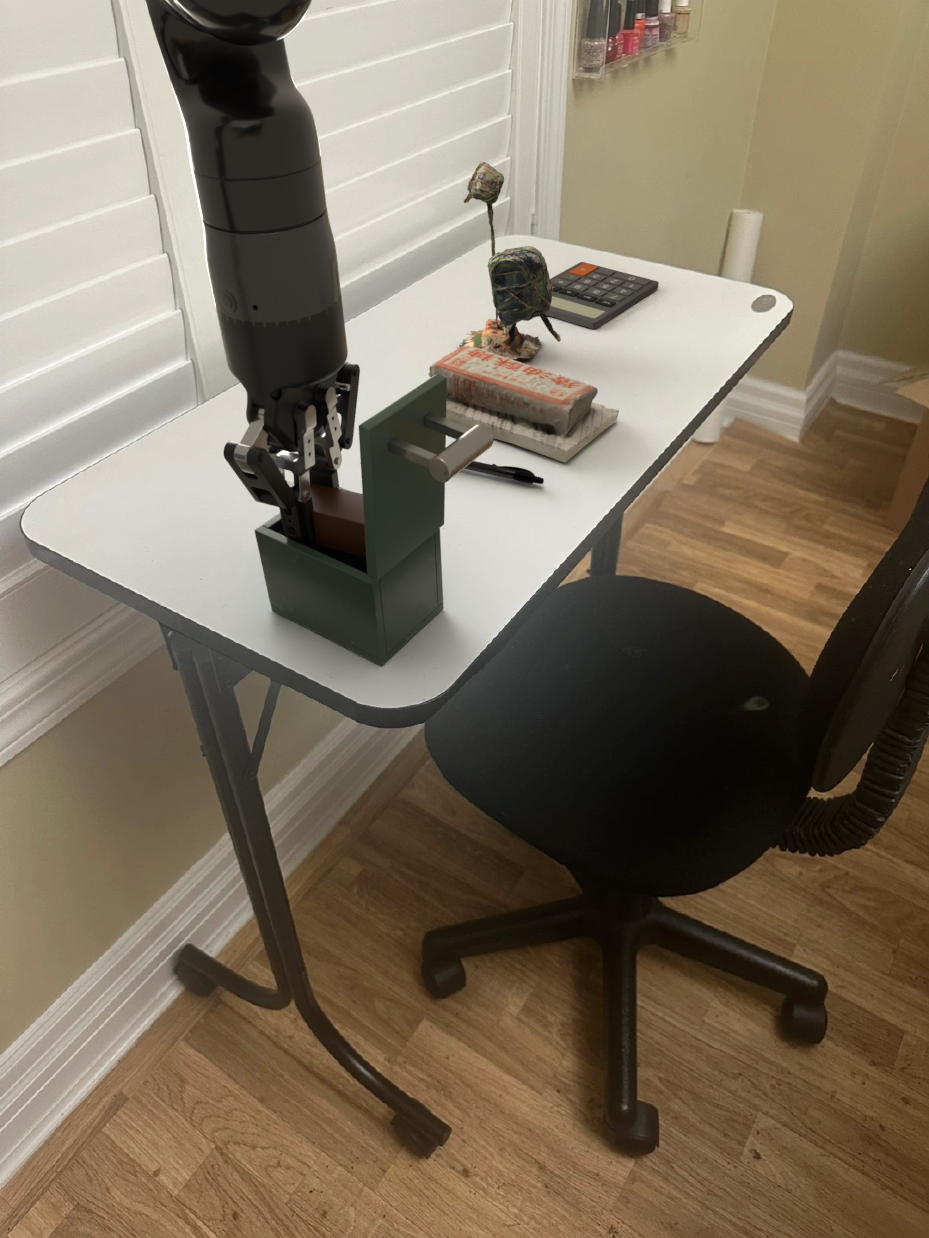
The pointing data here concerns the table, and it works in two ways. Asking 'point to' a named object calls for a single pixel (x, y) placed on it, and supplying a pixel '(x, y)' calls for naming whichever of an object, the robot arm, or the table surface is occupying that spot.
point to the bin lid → (411, 471)
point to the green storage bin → (351, 592)
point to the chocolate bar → (338, 519)
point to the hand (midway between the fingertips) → (315, 524)
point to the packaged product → (521, 402)
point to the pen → (506, 472)
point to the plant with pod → (510, 283)
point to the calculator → (595, 294)
